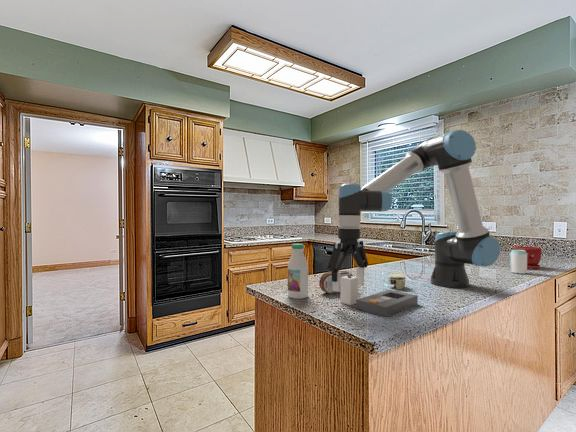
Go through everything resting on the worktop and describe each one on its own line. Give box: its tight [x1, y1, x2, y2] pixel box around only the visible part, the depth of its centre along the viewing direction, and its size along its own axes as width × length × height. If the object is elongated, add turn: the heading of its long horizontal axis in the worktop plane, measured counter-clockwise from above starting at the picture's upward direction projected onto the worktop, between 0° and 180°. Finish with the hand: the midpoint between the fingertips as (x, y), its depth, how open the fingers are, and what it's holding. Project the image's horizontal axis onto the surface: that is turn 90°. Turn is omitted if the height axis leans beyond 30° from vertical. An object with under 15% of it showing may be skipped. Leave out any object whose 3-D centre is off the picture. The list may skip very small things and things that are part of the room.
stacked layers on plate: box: [387, 273, 407, 290], centre depth 133 cm, size 10×9×6 cm
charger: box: [339, 273, 359, 306], centre depth 111 cm, size 4×4×10 cm
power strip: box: [356, 289, 419, 318], centre depth 106 cm, size 20×11×4 cm, turn 131°
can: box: [509, 250, 528, 275], centre depth 163 cm, size 7×7×12 cm
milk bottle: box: [287, 243, 309, 300], centre depth 119 cm, size 8×8×20 cm
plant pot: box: [511, 246, 542, 270], centre depth 178 cm, size 13×13×12 cm
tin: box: [318, 270, 354, 295], centre depth 125 cm, size 15×3×8 cm, turn 113°
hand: (348, 288), depth 111 cm, fingers open, 13 cm apart
